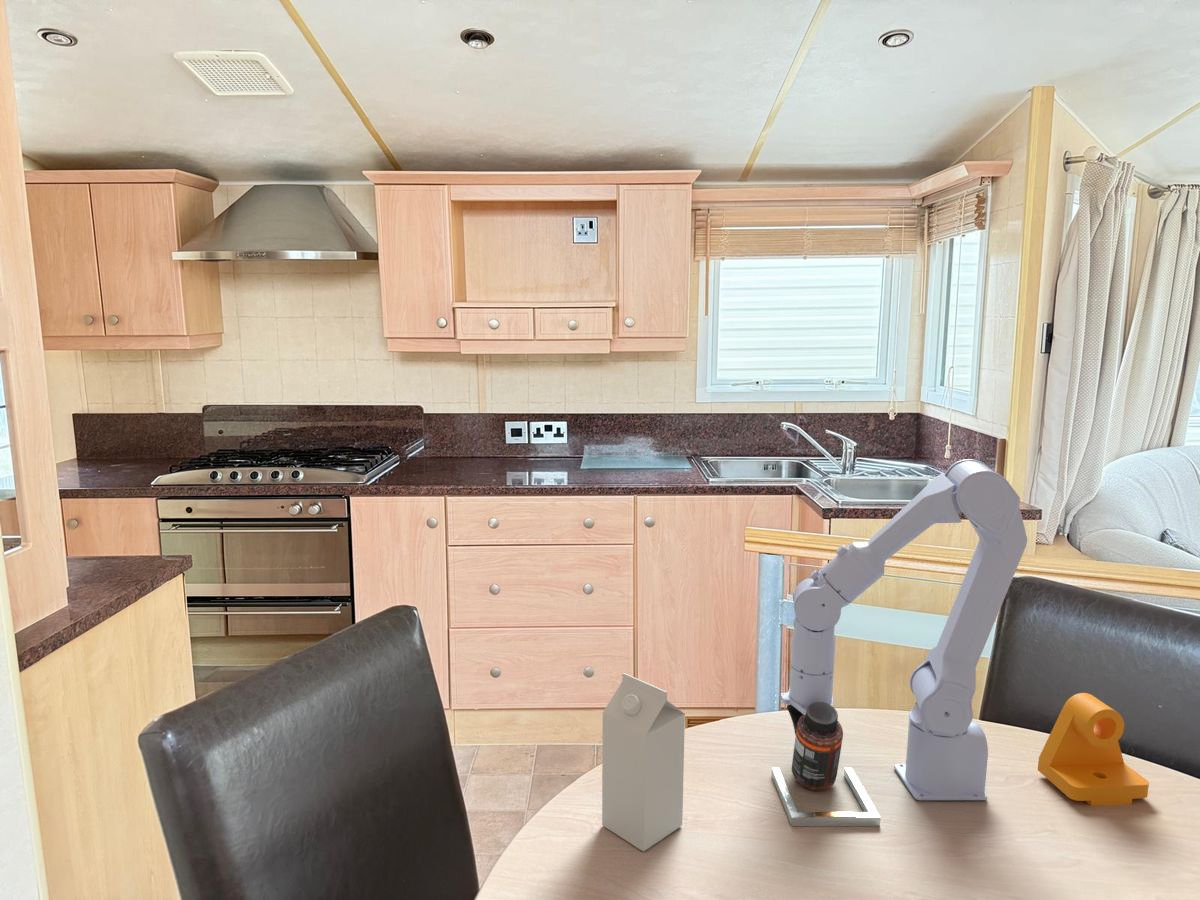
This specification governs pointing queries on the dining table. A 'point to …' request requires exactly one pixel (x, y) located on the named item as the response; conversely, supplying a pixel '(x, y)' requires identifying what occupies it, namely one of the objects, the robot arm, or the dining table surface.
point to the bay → (829, 818)
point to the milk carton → (642, 764)
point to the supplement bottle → (817, 747)
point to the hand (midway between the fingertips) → (806, 758)
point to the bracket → (1090, 755)
